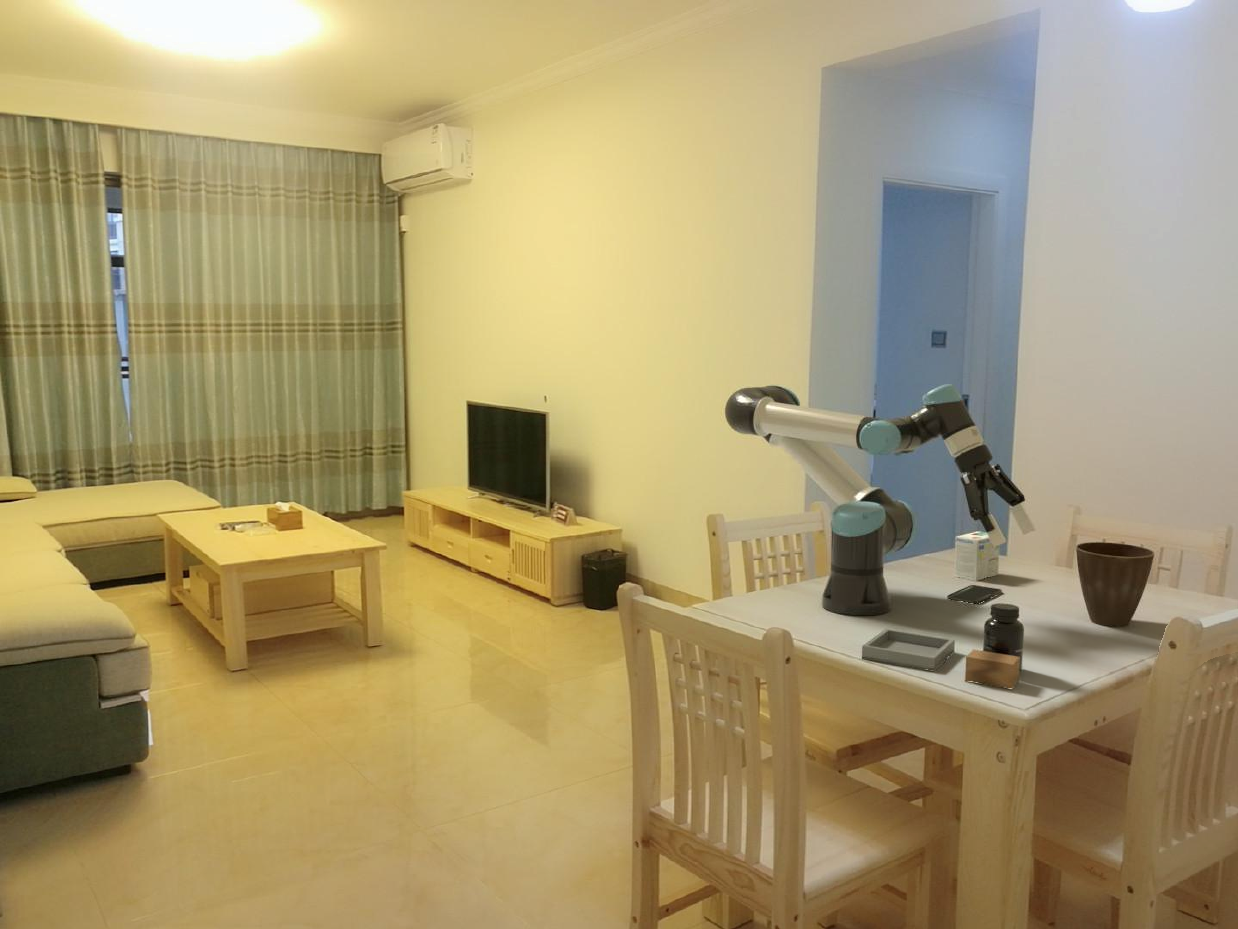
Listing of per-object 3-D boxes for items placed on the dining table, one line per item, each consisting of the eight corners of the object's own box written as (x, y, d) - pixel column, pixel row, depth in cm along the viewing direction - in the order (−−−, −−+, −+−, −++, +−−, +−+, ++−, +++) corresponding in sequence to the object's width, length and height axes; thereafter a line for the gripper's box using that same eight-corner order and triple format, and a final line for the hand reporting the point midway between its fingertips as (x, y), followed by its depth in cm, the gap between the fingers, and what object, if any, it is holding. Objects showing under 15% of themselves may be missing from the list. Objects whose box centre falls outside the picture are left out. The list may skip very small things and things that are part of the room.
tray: (861, 658, 189) (862, 645, 188) (885, 640, 200) (886, 628, 200) (933, 671, 181) (934, 658, 181) (954, 652, 192) (954, 639, 192)
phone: (945, 596, 232) (971, 584, 243) (945, 601, 232) (971, 589, 243) (978, 601, 226) (1003, 589, 237) (978, 606, 227) (1003, 594, 238)
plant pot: (1153, 619, 214) (1158, 547, 212) (1145, 636, 202) (1149, 559, 200) (1078, 609, 223) (1082, 539, 221) (1066, 625, 210) (1070, 551, 208)
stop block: (965, 681, 176) (966, 656, 175) (972, 673, 180) (973, 649, 179) (1012, 689, 171) (1013, 664, 171) (1018, 681, 176) (1019, 657, 175)
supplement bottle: (1025, 677, 178) (1028, 612, 176) (985, 674, 179) (988, 610, 178) (1018, 665, 185) (1021, 602, 183) (979, 662, 186) (982, 600, 184)
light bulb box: (975, 570, 261) (977, 530, 259) (999, 575, 256) (1001, 534, 254) (952, 576, 254) (954, 535, 253) (976, 581, 249) (978, 539, 247)
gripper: (954, 451, 207) (1002, 543, 202) (1009, 435, 224) (1055, 520, 219) (926, 466, 212) (972, 556, 207) (982, 450, 229) (1026, 533, 224)
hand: (1015, 538), depth 213 cm, fingers open, 13 cm apart
